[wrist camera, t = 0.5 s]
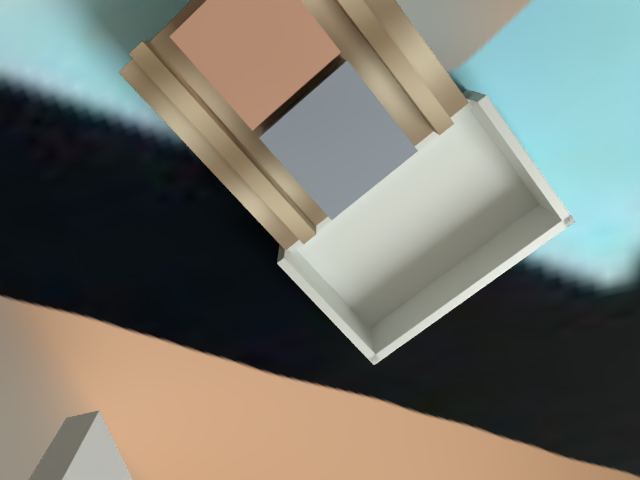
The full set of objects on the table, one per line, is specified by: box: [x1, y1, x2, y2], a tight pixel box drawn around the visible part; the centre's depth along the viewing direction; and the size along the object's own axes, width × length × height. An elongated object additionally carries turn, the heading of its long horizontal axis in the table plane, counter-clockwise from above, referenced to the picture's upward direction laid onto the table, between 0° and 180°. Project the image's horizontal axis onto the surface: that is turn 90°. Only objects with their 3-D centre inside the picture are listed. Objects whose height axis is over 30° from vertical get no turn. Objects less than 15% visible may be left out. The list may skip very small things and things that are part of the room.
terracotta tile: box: [170, 0, 341, 131], centre depth 28 cm, size 6×6×3 cm
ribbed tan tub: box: [119, 0, 469, 250], centre depth 31 cm, size 14×14×6 cm
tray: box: [277, 90, 575, 365], centre depth 35 cm, size 10×16×4 cm, turn 130°
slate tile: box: [259, 59, 418, 220], centre depth 29 cm, size 6×6×3 cm
